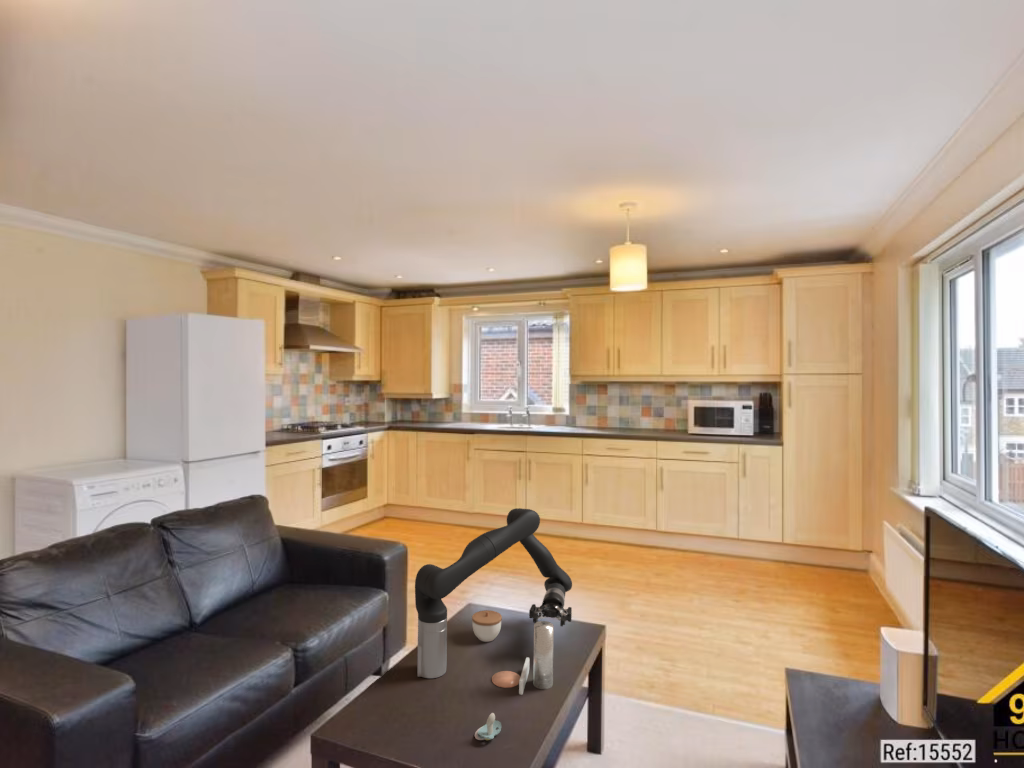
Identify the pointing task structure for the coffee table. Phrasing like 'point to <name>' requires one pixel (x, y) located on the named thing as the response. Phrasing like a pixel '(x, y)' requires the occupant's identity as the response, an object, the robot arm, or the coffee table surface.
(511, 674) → the terracotta coaster
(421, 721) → the coffee table surface
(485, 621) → the lidded jar
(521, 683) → the acrylic wall
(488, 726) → the pacifier
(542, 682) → the metal tin
